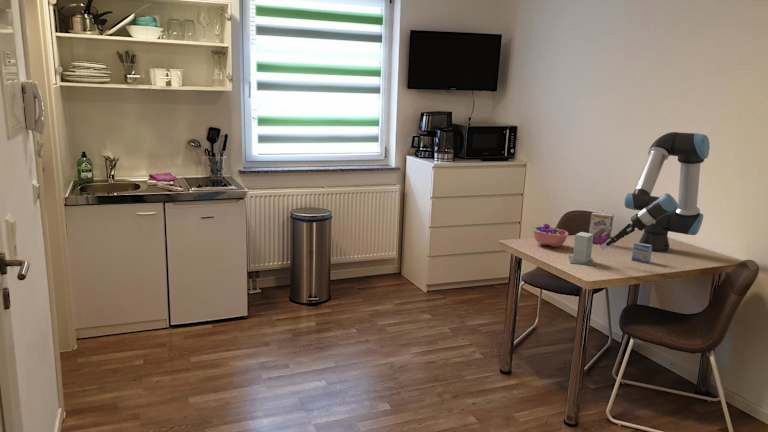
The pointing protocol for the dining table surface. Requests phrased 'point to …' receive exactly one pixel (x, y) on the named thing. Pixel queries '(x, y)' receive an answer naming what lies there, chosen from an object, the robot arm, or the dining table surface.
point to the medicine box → (641, 252)
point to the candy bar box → (601, 227)
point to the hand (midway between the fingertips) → (604, 245)
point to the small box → (583, 247)
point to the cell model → (549, 235)
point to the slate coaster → (581, 262)
